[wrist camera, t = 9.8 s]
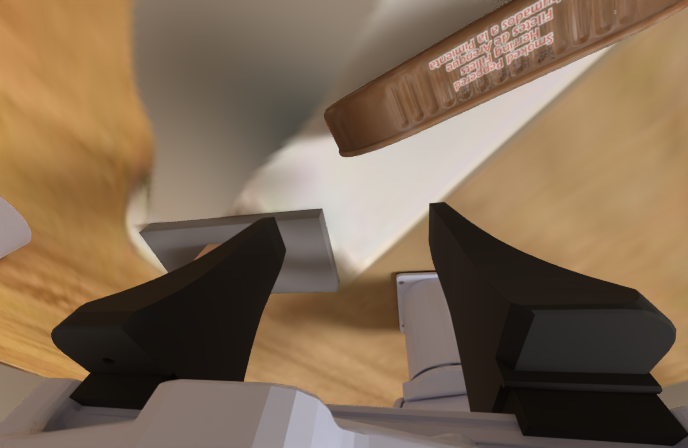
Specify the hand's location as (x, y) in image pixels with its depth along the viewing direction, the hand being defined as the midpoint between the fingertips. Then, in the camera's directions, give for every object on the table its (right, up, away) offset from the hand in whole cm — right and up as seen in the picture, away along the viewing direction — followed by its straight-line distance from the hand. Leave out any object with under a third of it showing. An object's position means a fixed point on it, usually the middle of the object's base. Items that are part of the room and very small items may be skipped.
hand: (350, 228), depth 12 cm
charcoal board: (-10, -3, +15) cm, 18 cm away
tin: (+6, +10, +4) cm, 13 cm away
